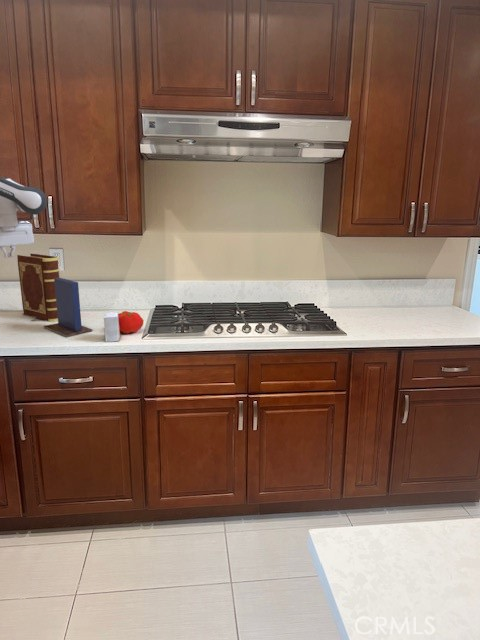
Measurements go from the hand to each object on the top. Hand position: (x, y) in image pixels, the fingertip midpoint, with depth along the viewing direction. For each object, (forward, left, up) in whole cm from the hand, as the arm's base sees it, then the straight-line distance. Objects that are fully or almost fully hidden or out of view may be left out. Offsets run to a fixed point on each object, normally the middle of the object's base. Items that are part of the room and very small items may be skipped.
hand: (9, 257), depth 183 cm
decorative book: (+34, +11, -34) cm, 49 cm away
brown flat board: (+17, -12, -34) cm, 40 cm away
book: (+18, -12, -33) cm, 39 cm away
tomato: (+22, -39, -34) cm, 56 cm away
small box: (+10, -37, -34) cm, 51 cm away
